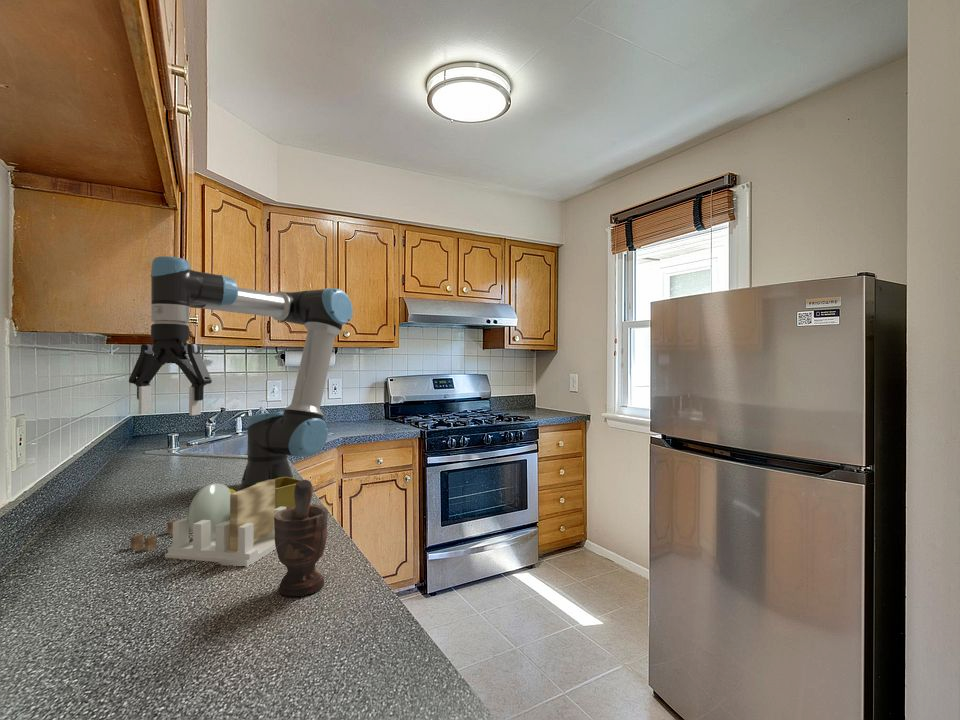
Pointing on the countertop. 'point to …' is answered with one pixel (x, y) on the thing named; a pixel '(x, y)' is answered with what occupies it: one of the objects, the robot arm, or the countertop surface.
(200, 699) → the countertop surface
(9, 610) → the countertop surface
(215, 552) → the dish rack
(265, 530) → the bamboo board
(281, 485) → the flower pot
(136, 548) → the board stand
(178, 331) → the robot arm
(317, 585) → the mortar and pestle
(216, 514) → the sage plate
